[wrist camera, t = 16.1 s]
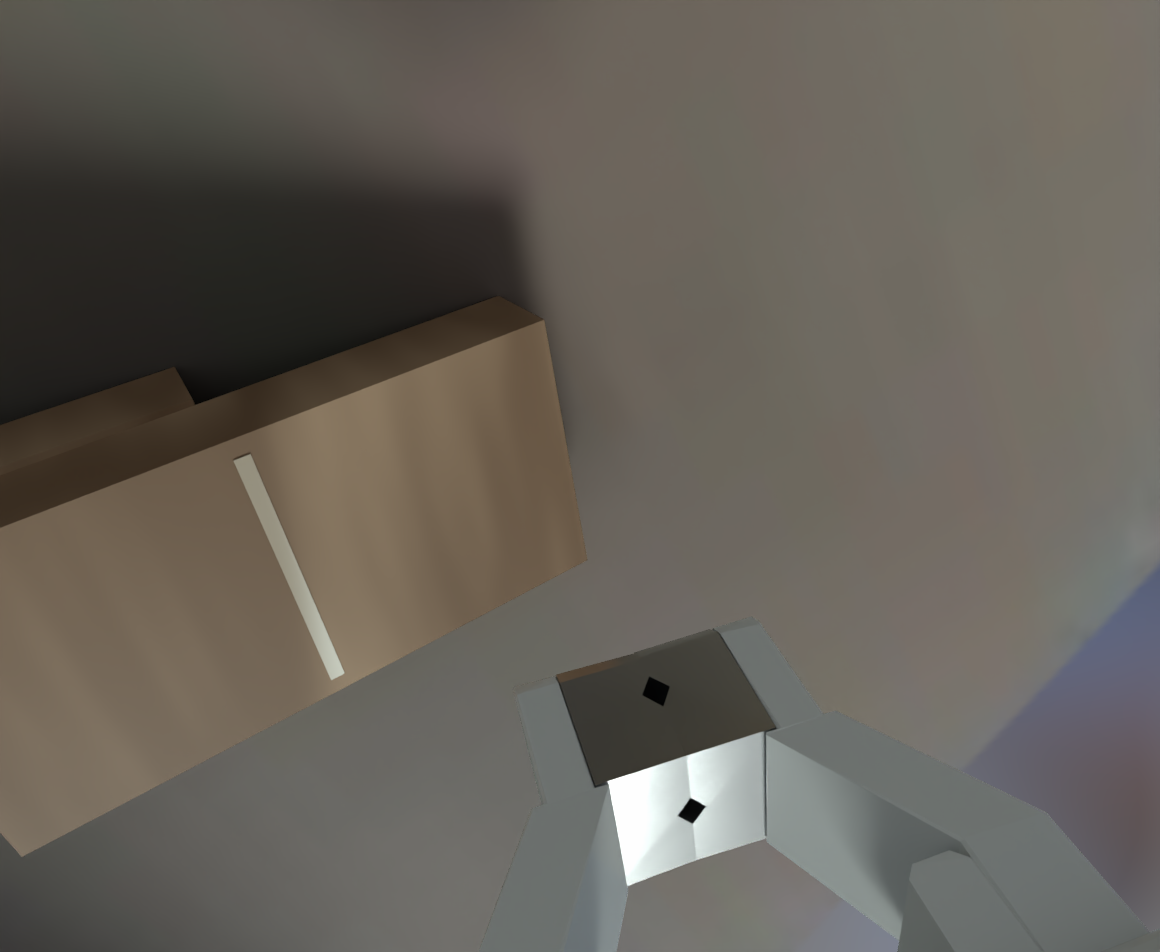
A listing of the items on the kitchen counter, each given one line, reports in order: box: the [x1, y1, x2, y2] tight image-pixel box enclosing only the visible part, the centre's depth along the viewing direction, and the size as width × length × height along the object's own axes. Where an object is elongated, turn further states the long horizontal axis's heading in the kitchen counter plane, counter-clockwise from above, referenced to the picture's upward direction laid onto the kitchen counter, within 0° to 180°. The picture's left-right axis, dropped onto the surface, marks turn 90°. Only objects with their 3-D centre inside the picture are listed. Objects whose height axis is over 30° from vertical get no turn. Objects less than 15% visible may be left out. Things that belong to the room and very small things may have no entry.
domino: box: [0, 296, 587, 857], centre depth 13 cm, size 2×5×10 cm
